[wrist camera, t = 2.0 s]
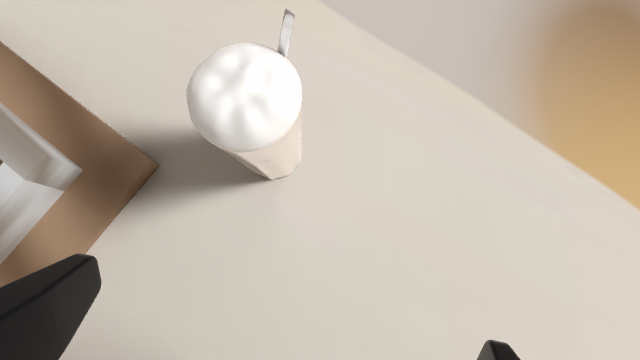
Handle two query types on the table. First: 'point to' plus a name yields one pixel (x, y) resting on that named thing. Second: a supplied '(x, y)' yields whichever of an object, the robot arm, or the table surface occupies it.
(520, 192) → the table surface
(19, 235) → the collar plate
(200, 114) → the milkshake
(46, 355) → the robot arm
